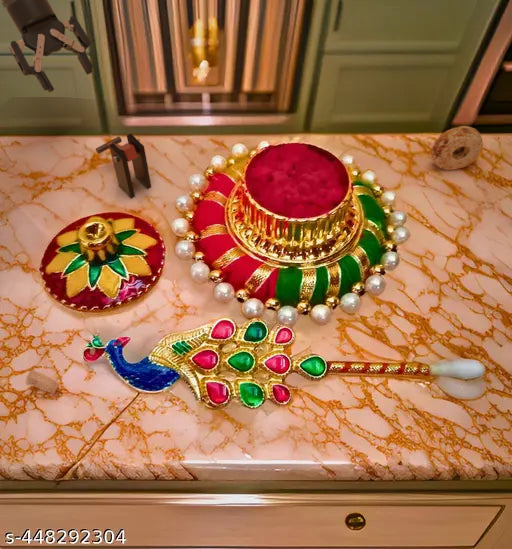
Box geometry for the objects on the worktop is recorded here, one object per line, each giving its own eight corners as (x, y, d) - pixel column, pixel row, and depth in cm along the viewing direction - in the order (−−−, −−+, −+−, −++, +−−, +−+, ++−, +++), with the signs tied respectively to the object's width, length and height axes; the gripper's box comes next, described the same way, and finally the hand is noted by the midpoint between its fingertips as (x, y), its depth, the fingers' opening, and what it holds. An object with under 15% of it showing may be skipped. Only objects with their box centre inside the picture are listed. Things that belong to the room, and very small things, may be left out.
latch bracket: (104, 184, 120) (92, 138, 109) (136, 166, 123) (127, 120, 112) (135, 216, 116) (125, 172, 105) (167, 197, 119) (161, 152, 108)
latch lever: (98, 156, 117) (93, 145, 115) (121, 143, 119) (116, 133, 117) (121, 165, 109) (116, 154, 107) (145, 152, 111) (140, 141, 109)
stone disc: (429, 173, 125) (443, 139, 116) (424, 161, 127) (438, 126, 118) (475, 169, 126) (492, 136, 117) (469, 157, 128) (486, 123, 119)
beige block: (38, 376, 97) (29, 364, 92) (64, 385, 96) (56, 374, 92) (30, 390, 95) (20, 379, 91) (55, 400, 94) (47, 389, 90)
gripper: (-10, 7, 102) (41, 93, 107) (61, -21, 107) (107, 62, 112) (-13, 20, 108) (35, 101, 114) (54, -7, 114) (97, 71, 119)
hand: (71, 81), depth 113 cm, fingers open, 8 cm apart
